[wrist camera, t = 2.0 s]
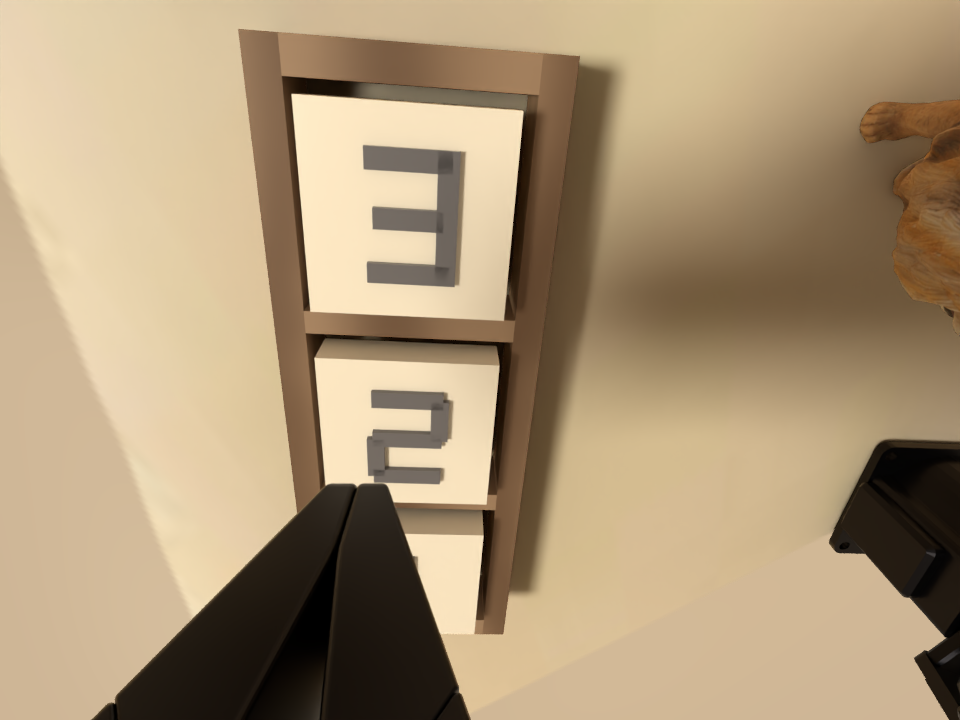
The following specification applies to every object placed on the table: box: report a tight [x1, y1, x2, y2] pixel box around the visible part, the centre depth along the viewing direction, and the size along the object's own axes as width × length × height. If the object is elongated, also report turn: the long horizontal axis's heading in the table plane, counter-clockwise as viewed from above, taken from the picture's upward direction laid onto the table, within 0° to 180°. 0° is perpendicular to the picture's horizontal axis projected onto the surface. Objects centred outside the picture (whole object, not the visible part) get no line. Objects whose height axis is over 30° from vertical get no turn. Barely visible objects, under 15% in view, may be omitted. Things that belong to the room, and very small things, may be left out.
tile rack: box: [238, 29, 580, 634], centre depth 20 cm, size 9×24×2 cm, turn 176°
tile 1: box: [396, 508, 484, 634], centre depth 22 cm, size 6×6×2 cm
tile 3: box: [292, 94, 524, 321], centre depth 15 cm, size 6×6×2 cm
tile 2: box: [314, 338, 500, 505], centre depth 19 cm, size 6×6×2 cm
